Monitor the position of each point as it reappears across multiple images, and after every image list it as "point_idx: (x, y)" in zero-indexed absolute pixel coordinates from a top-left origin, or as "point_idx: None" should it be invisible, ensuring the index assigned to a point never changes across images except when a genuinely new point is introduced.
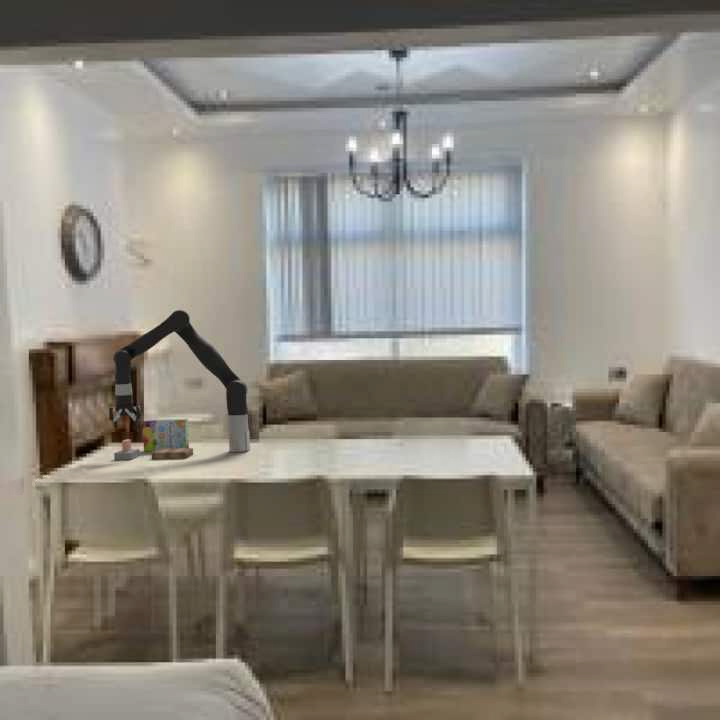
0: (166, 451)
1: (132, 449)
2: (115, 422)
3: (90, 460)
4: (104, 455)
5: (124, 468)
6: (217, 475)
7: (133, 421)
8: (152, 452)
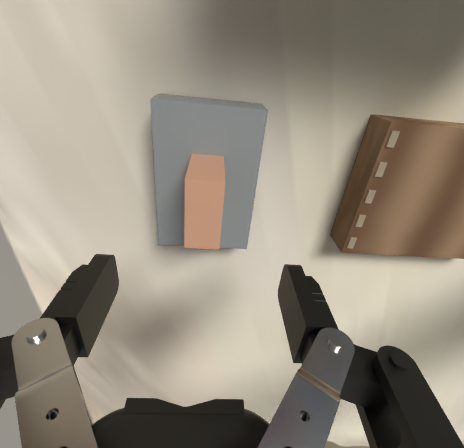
0: (414, 227)
1: (224, 125)
2: (79, 348)
3: (38, 206)
4: (4, 17)
5: (253, 362)
6: (456, 428)
7: (294, 357)
8: (346, 242)
